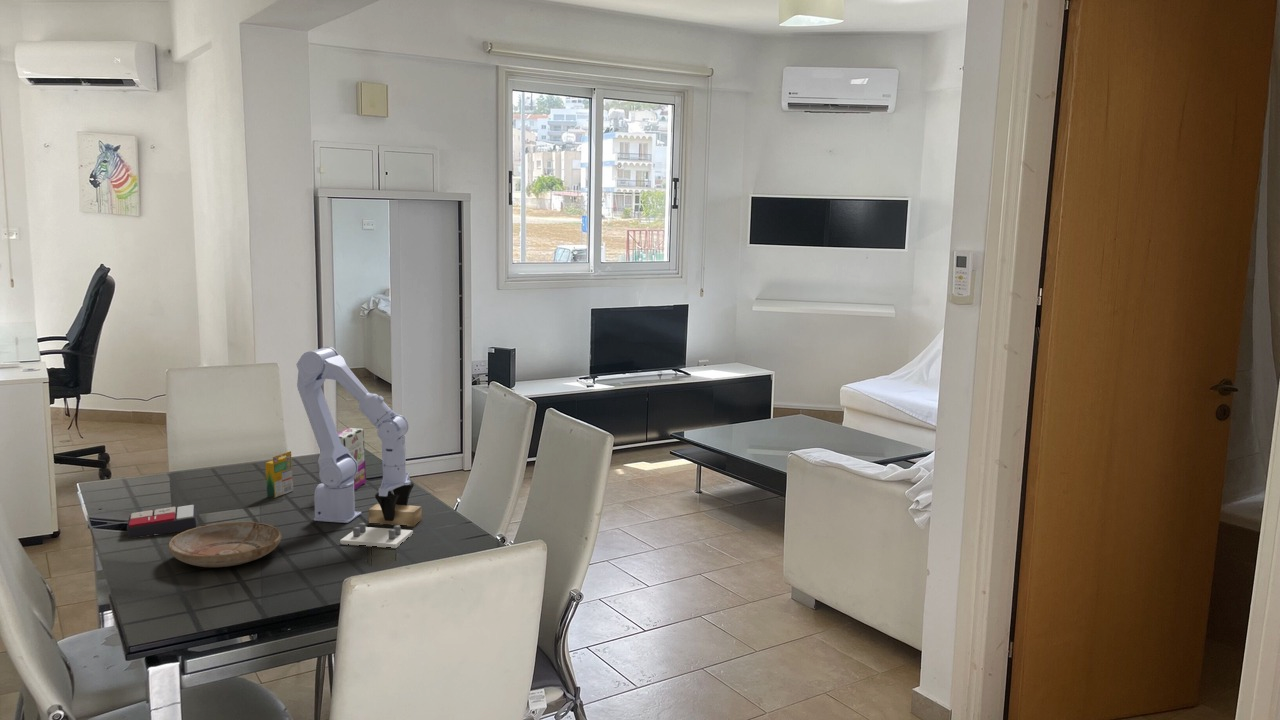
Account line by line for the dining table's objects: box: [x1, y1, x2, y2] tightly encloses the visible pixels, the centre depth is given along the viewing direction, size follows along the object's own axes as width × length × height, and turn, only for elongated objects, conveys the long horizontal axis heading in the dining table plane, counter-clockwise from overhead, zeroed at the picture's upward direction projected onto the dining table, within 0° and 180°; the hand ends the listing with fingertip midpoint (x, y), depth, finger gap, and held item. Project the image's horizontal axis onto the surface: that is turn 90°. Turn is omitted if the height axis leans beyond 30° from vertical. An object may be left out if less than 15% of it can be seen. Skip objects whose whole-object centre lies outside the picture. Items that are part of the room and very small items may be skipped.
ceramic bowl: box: [168, 521, 282, 568], centre depth 214 cm, size 23×24×5 cm
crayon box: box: [265, 450, 294, 499], centre depth 262 cm, size 7×3×12 cm, turn 159°
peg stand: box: [339, 522, 414, 549], centre depth 227 cm, size 14×10×3 cm
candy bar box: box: [338, 427, 367, 491], centre depth 267 cm, size 11×5×16 cm, turn 168°
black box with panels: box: [126, 504, 198, 539], centre depth 233 cm, size 11×4×15 cm
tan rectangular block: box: [368, 503, 423, 527], centre depth 240 cm, size 12×5×4 cm, turn 81°
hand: (395, 515), depth 240 cm, fingers open, 7 cm apart
